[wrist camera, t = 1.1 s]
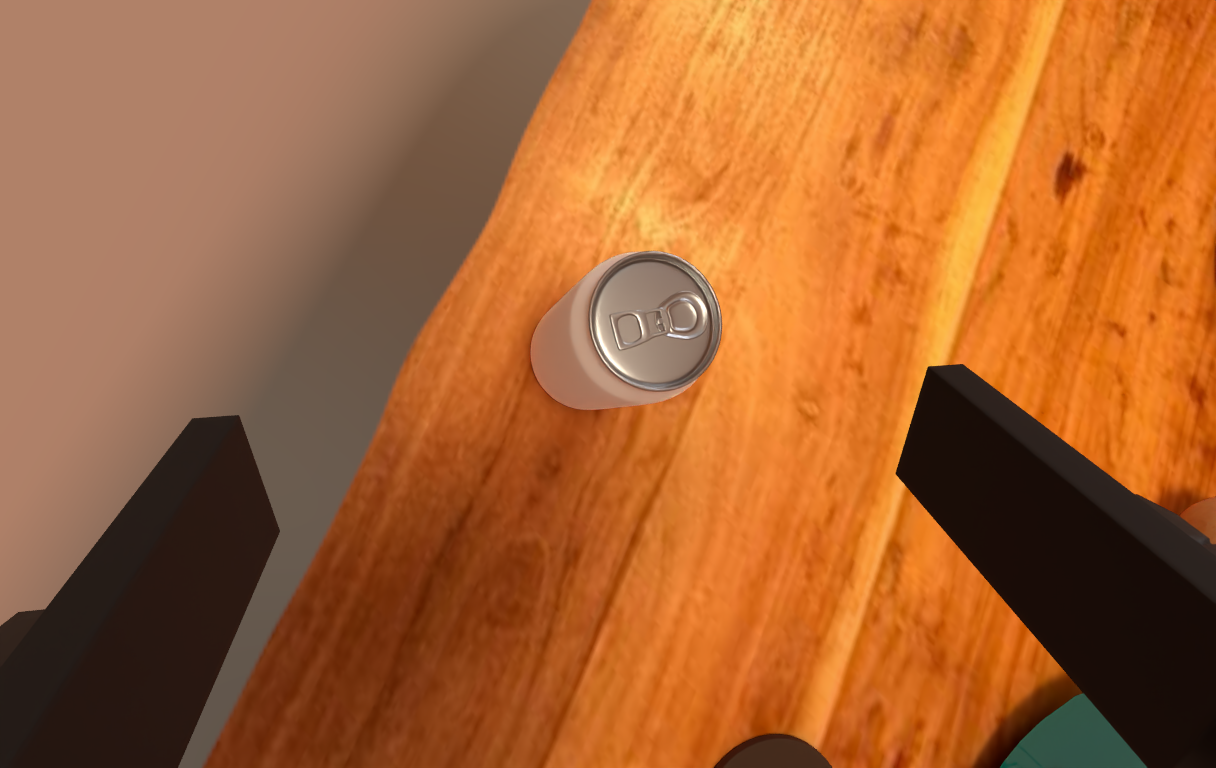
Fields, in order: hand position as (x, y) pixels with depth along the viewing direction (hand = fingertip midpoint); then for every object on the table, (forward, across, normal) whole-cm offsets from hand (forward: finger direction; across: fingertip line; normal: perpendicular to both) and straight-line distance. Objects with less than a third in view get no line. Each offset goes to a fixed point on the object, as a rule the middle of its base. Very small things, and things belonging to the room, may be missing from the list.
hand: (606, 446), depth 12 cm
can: (+22, +2, -10) cm, 24 cm away
